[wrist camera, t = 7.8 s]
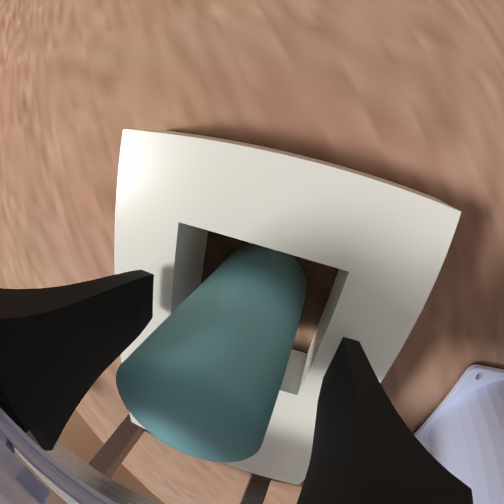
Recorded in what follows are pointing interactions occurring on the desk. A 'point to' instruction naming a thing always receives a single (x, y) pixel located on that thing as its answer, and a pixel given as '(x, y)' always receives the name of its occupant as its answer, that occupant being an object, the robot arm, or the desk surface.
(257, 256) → the peg
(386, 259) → the socket block
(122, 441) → the grey small table
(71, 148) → the desk surface
